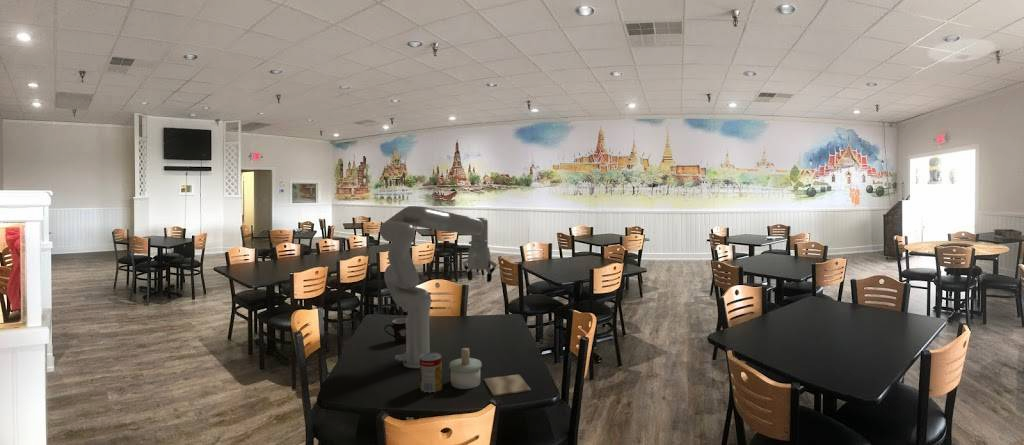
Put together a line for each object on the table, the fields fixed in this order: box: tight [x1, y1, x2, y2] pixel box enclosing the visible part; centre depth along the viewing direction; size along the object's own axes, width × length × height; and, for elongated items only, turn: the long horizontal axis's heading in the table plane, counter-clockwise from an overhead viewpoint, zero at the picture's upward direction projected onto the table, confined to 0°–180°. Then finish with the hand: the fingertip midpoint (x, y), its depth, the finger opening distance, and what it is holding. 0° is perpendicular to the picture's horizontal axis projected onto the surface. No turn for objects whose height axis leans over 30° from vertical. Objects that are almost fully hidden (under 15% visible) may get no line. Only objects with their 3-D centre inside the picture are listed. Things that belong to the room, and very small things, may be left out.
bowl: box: [450, 368, 481, 390], centre depth 178 cm, size 11×11×6 cm
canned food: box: [419, 352, 443, 394], centre depth 173 cm, size 8×8×12 cm
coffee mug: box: [383, 317, 407, 345], centre depth 224 cm, size 12×9×10 cm
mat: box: [483, 373, 532, 397], centre depth 176 cm, size 14×14×1 cm
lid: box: [448, 347, 483, 373], centre depth 178 cm, size 12×12×6 cm
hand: (479, 280), depth 222 cm, fingers open, 9 cm apart
